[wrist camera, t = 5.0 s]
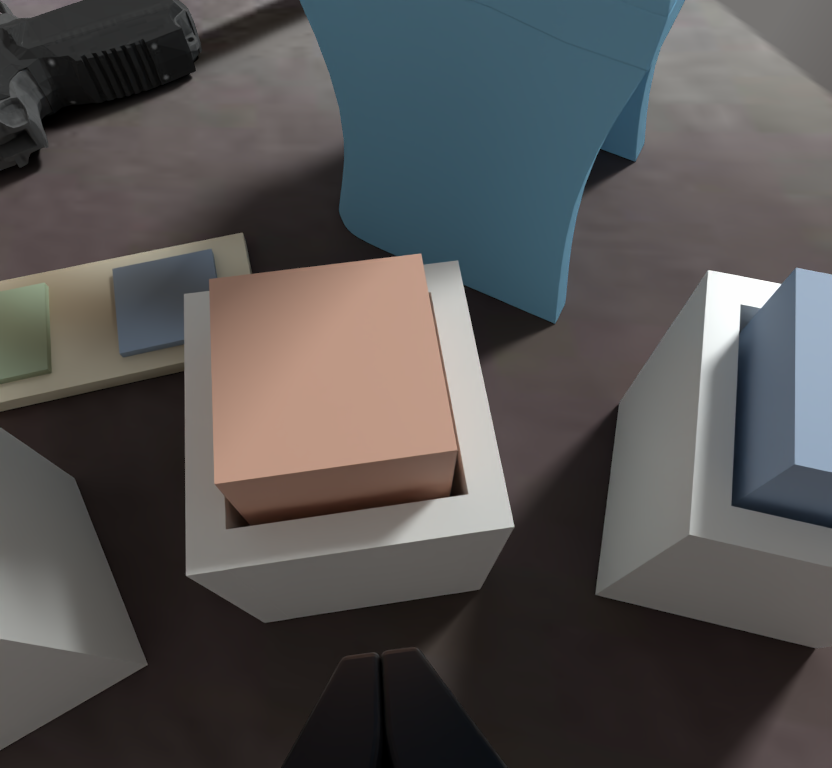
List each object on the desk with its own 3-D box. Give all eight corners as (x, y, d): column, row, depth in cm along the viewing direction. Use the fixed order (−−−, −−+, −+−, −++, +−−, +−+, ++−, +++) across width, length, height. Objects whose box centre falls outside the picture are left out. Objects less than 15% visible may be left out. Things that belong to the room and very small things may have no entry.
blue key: (833, 585, 18) (1052, 520, 12) (666, 547, 19) (794, 464, 13) (830, 435, 20) (1019, 310, 14) (678, 403, 21) (796, 267, 14)
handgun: (28, -142, 35) (-221, -47, 31) (207, 5, 28) (-78, 145, 25) (58, -73, 37) (-166, 21, 34) (227, 75, 31) (-25, 209, 28)
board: (266, 352, 25) (261, 340, 24) (-85, 430, 23) (-103, 420, 23) (246, 242, 27) (240, 227, 26) (-79, 307, 26) (-95, 294, 25)
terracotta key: (442, 537, 19) (457, 450, 13) (281, 561, 19) (214, 484, 12) (418, 392, 21) (421, 253, 14) (271, 412, 21) (208, 279, 14)
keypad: (909, 621, 21) (1170, 573, 14) (-162, 937, 18) (-565, 1095, 10) (741, 308, 26) (870, 150, 18) (-128, 510, 22) (-389, 413, 15)
